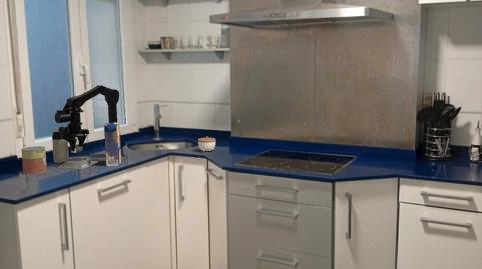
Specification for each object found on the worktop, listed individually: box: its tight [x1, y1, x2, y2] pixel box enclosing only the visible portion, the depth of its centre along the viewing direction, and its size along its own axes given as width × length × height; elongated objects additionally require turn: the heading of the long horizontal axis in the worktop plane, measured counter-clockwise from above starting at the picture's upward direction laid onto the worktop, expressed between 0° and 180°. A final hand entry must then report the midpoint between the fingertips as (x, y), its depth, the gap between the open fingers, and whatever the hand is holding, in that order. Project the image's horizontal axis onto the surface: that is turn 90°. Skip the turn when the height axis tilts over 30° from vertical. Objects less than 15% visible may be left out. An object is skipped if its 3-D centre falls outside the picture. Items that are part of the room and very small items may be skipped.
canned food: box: [20, 145, 48, 175], centre depth 237 cm, size 11×11×12 cm
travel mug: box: [51, 128, 70, 164], centre depth 258 cm, size 8×8×18 cm
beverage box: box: [103, 122, 122, 167], centre depth 252 cm, size 7×11×22 cm, turn 9°
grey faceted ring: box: [56, 156, 99, 170], centre depth 251 cm, size 16×16×3 cm
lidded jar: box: [197, 136, 216, 152], centre depth 285 cm, size 11×11×9 cm
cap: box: [70, 145, 84, 154], centre depth 250 cm, size 6×7×3 cm
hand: (77, 149), depth 250 cm, fingers closed on cap, 7 cm apart
